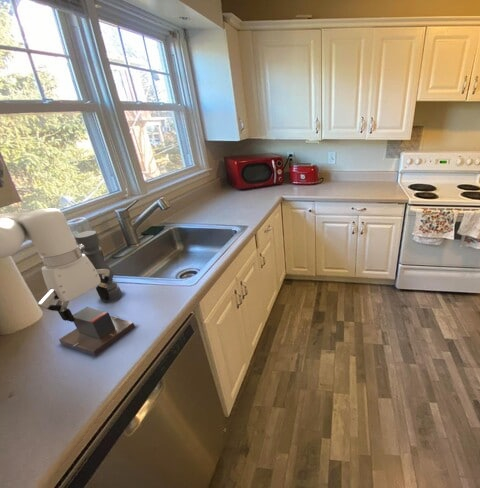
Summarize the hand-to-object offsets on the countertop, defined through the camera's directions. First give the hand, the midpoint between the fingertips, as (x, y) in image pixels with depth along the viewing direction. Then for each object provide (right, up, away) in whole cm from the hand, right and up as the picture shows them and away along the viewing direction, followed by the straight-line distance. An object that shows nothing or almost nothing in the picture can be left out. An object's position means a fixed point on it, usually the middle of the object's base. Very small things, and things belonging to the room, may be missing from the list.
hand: (88, 309), depth 79 cm
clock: (0, -7, +3) cm, 8 cm away
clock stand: (0, -9, +4) cm, 10 cm away
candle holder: (-10, -1, +21) cm, 23 cm away
